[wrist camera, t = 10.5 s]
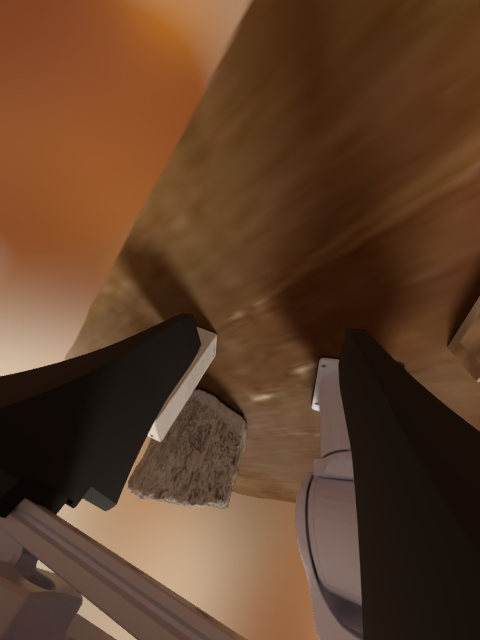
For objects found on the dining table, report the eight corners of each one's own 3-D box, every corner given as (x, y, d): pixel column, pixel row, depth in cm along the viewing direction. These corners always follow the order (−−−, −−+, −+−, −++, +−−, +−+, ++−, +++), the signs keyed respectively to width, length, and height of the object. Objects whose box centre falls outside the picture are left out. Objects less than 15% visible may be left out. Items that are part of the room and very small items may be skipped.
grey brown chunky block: (232, 451, 44) (202, 546, 32) (168, 414, 44) (115, 495, 33) (270, 423, 32) (245, 555, 21) (182, 373, 33) (108, 476, 21)
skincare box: (217, 332, 24) (156, 422, 15) (216, 356, 27) (163, 445, 18) (176, 319, 26) (94, 395, 16) (178, 343, 28) (109, 420, 19)
